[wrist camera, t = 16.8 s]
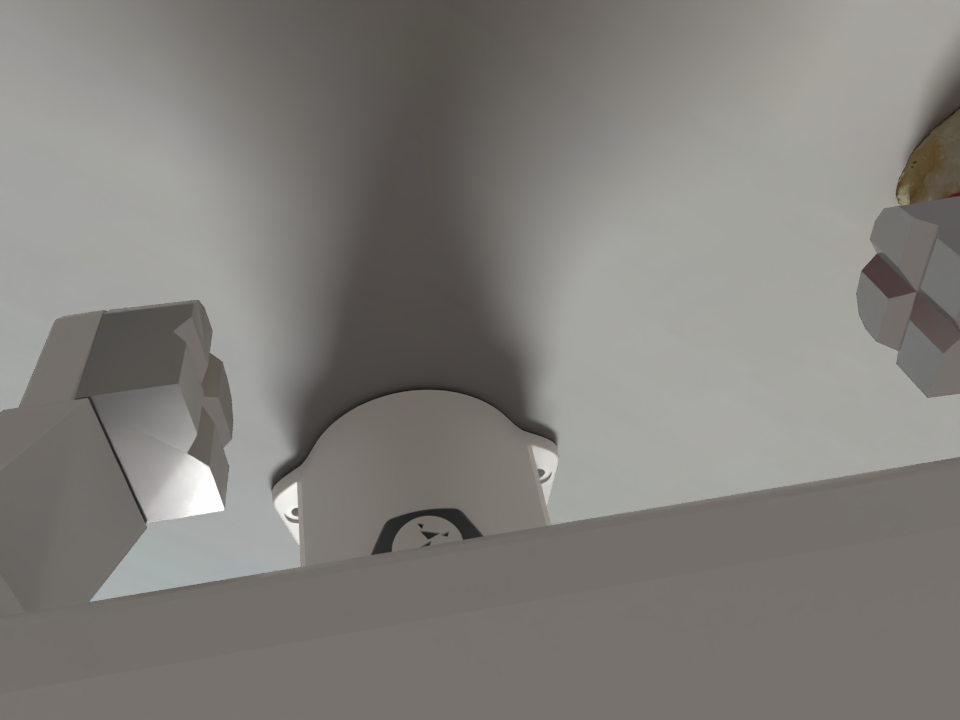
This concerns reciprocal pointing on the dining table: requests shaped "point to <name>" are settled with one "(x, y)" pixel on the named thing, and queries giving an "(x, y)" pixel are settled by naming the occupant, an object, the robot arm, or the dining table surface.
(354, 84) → the dining table surface
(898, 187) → the chocolate bunny
